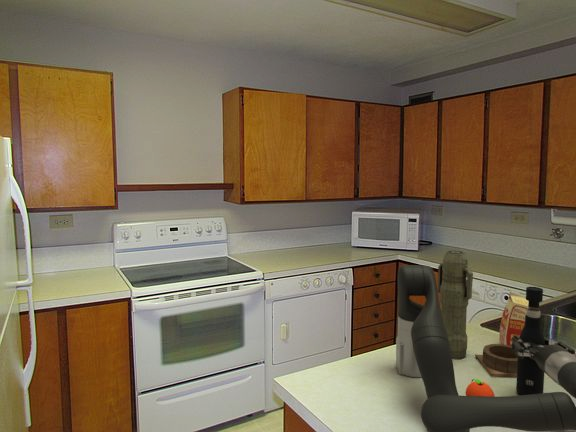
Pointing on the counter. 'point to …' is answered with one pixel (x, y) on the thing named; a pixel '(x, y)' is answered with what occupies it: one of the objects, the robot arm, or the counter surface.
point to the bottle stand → (499, 360)
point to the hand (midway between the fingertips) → (527, 338)
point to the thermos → (455, 299)
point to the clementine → (479, 389)
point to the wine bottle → (527, 368)
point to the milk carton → (513, 318)
